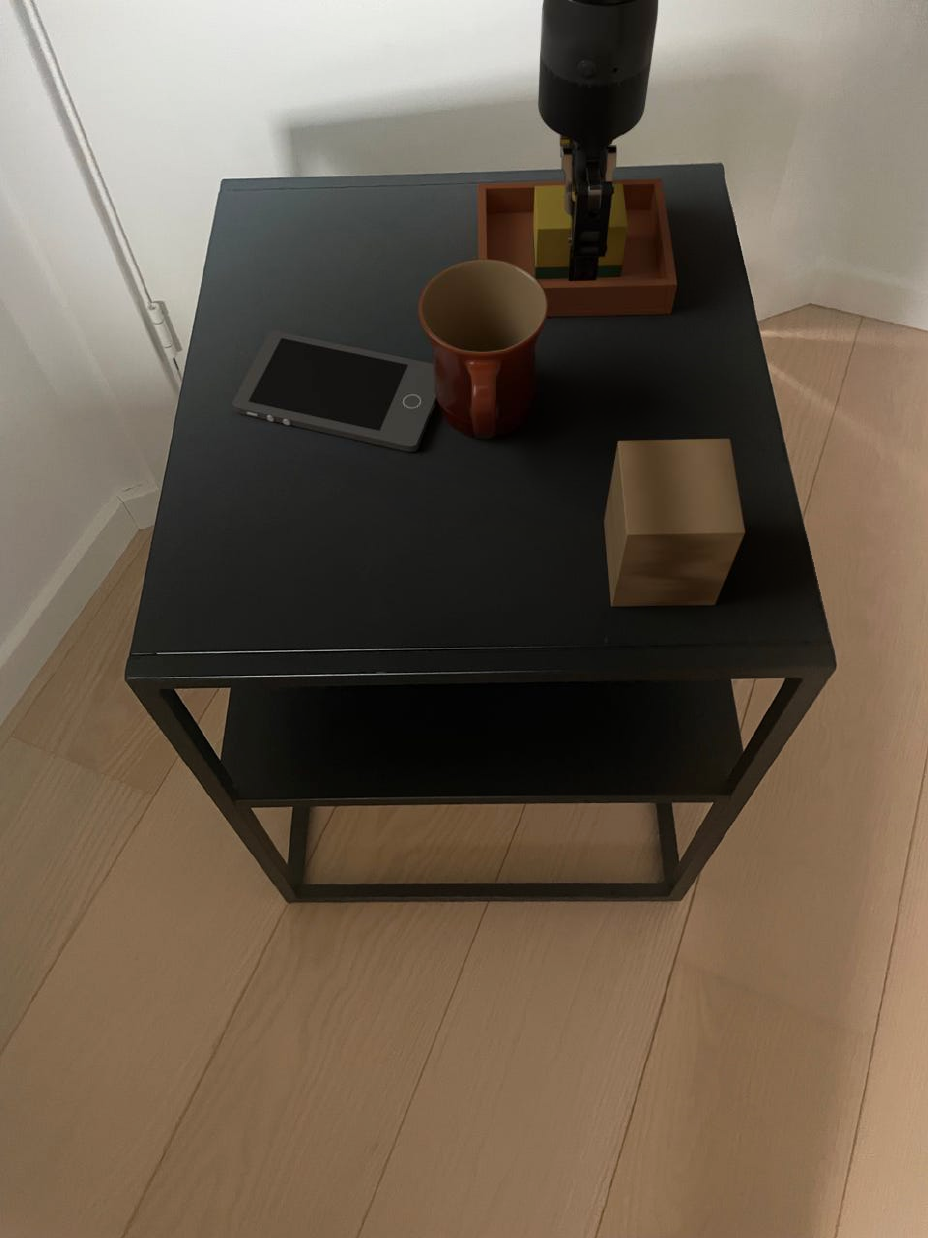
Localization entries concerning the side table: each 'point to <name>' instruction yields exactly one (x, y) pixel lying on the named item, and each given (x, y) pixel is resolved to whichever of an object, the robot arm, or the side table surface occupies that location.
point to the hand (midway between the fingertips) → (578, 242)
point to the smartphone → (339, 391)
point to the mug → (484, 343)
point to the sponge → (555, 231)
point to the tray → (633, 293)
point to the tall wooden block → (671, 522)
